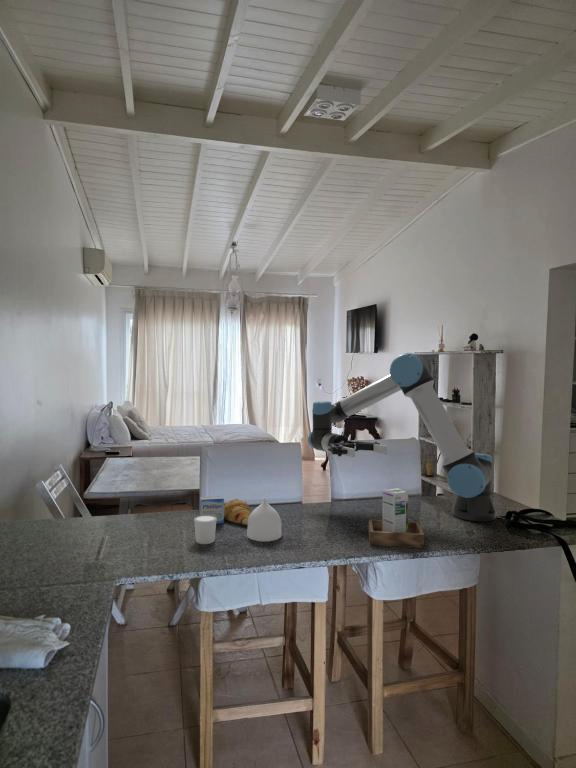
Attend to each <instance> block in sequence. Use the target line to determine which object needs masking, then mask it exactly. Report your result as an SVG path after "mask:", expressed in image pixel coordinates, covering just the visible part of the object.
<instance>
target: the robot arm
mask: <svg viewBox="0 0 576 768" xmlns="http://www.w3.org/2000/svg"><path fill="white" fill-rule="evenodd" d="M432 369H433V367H432V365H431V362H430V360H429V359H428V358H427V357H425V356H424V355H423V354H422V355H421V354H419V353H418V354H416V353H412V352H406V353H405V352H404V353H402V354H399V355H397V356H396V357H395V358H394V359H393V360H392V361H391V364H390V367H389V374H387V375H385V376H384V377H381V378H380V379H377V380H376V381H374V382H373V383H370V384H368V385H366V386H365V387H363V388H361V389H359V390H357V391H355V392H354V393H352V394H350V395H348V396H346V397H345V398H342V399H340V400H339V401H337V402H334V403H333V404H332V402H331V401H326V400H324V401H322V400H320V401H314V402H313V403H312V409H311V410H312V411H311V412H312V431H311V432H310V433H309V434H308V436H307V443H308V445H309V446H310V447H311V448H312V449H314V450H317V451H321V452H326V453H329V454H330V455H337V457H342V456H346V457H350V458H356V452H358V451H372V452H374V453H380V454H384V455H387V454H388V446H387V445H383V444H380V442H377V441H375V442H367V441H359V440H356V441H355V440H353V441H352V440H349V439H348V437H347V436H346V435H344V434H343V435H342V434H338V433H334V432H332V429H333V427H332V425H333V424H335V423H341V422H343V421H345V420H346V419H347V418H349V417H350V416H352V415H355V414H357V413H359V412H360V411H363V410H365V409H366V408H369V407H370V406H372V405H375V404H376V403H378V402H379V401H382V400H384V399H386V398H388V397H390V396H392V395H393V394H396V393H398V392H400V391H402V394H403V395H404V397H407V398H410V400H411V401H412V403H413V404H414V407H415V409H416V410H417V413H418V414H419V416H420V417H421V420H422V421H423V423H424V425H425V427H426V429H427V431H428V433H429V434H430V436H431V438H432V439H433V443H434V444H435V446H436V447H437V449H438V451H439V453H440V455H441V457H442V458H443V459H442V460H443V461H442V463H441V466H442V468H443V469H444V471H445V473H446V475H447V478H446V479H447V484H448V486H449V488H450V490H451V491H452V492H453V493H454V494H455V495H456V497H455V499H454V502H453V505H452V507H451V508H452V509H451V511H452V512H451V514H452V515H453V516H454V517H456V518H459V519H461V520H466V521H469V522H470V521H472V522H492V521H495V520H496V519H497V511H496V507H495V504H494V501H493V498H492V497H493V496H492V490H493V489H492V485H493V484H492V482H493V481H492V480H493V479H492V478H493V463H494V462H493V457H492V455H490V454H485V453H475V452H474V450H472V449H469V448H467V447H466V443H464V441H463V439H462V437H461V435H460V434H459V432H458V430H457V428H456V426H455V425H454V423H453V421H452V419H451V417H450V416H449V414H448V412H447V410H446V409H445V407H444V404H443V403H442V402H441V401H442V400H441V399H440V398H439V397H440V396H438V394H437V392H436V391H435V388H434V384H435V379H434V378H433V376H432Z"/></svg>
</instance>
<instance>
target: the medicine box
mask: <svg viewBox="0 0 576 768" xmlns="http://www.w3.org/2000/svg"><path fill="white" fill-rule="evenodd" d="M224 503H225V498H224V496H223V495H218V496H217V495H216V496H200V497H199V516H205V515H209V516H214V517H216V518H217V520H216V525H218V524H219V525H222V524H224V522H225V518H224Z"/></svg>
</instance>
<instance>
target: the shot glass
mask: <svg viewBox="0 0 576 768" xmlns="http://www.w3.org/2000/svg"><path fill="white" fill-rule="evenodd" d="M216 520H217V518H216V517H214V516H209V515H205V516H200V515H198V516H196V517H194V518H193V522H194V532H195V533H194V534H195V543H196V544H200V545H208V544H212V543H214V542H215V538H216V529H217V527H216V526H217V524H216Z"/></svg>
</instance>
